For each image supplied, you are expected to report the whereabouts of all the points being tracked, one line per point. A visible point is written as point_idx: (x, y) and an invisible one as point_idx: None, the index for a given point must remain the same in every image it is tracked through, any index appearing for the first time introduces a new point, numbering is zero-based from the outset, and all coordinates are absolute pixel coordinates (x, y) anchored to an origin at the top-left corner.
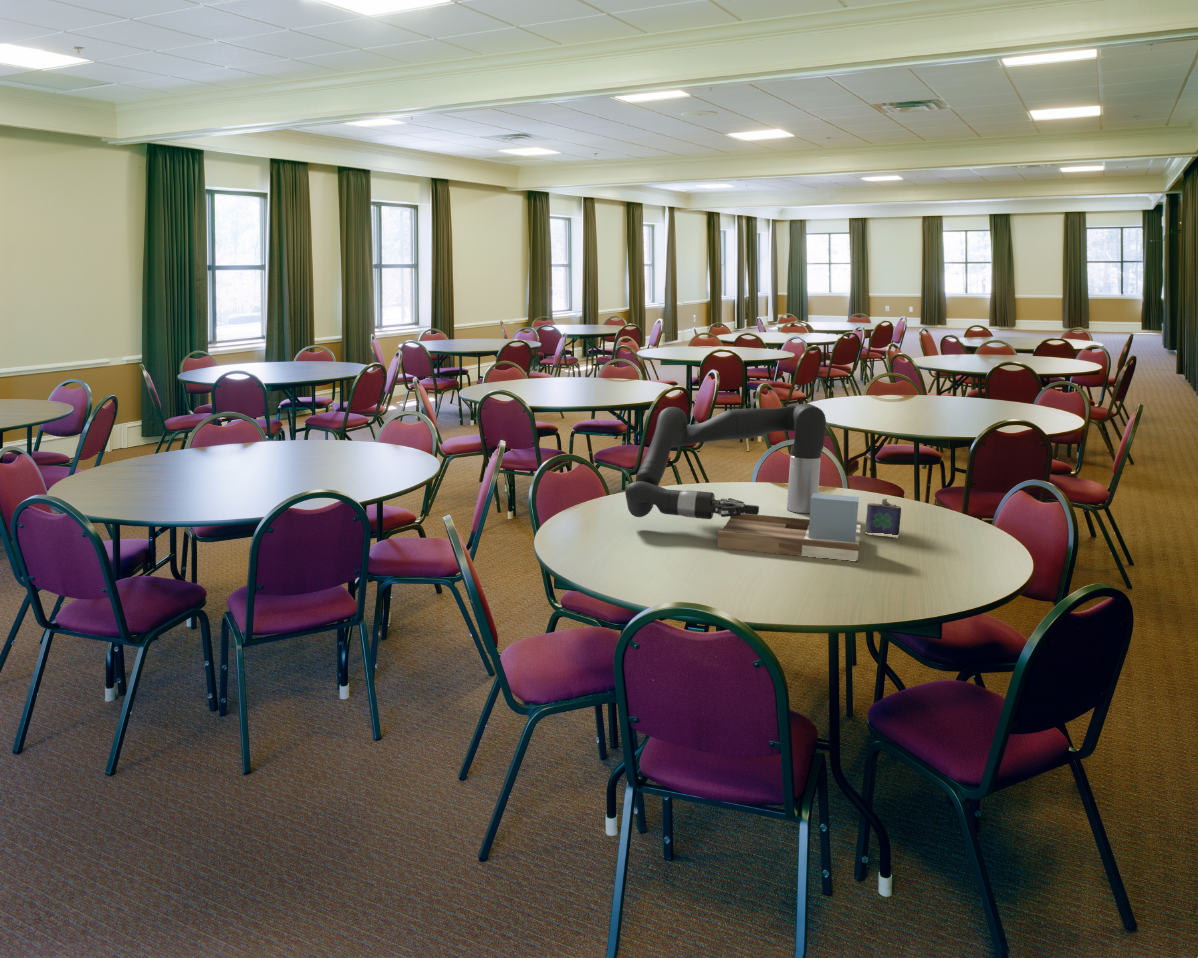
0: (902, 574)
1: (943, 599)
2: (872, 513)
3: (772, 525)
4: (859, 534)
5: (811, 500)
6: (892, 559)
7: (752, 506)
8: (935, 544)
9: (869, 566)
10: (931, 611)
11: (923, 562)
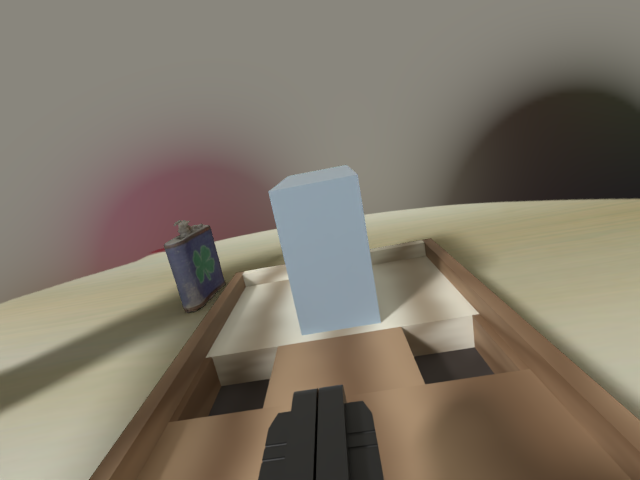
0: (456, 240)
1: (534, 209)
2: (189, 258)
3: (214, 471)
4: None
5: (358, 185)
6: None
7: (344, 421)
8: (255, 258)
9: None
10: (608, 202)
11: None
